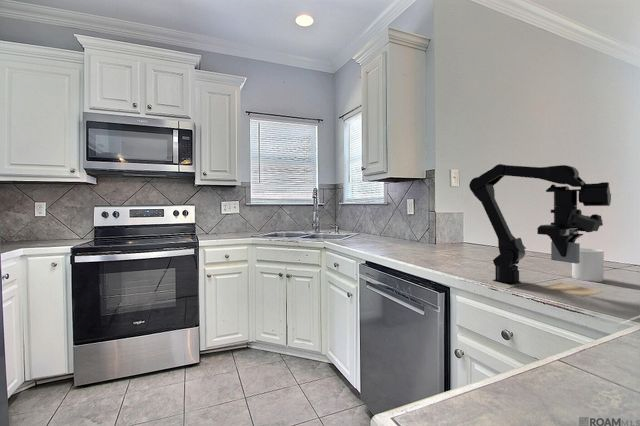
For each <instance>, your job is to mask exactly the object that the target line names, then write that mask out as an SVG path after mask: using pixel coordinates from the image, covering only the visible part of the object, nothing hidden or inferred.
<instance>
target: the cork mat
mask: <svg viewBox="0 0 640 426" xmlns="http://www.w3.org/2000/svg"><path fill="white" fill-rule="evenodd" d="M541 288H543V289H547V290H550V291H551V290H552V291H555V292H561V293H564V294H565V293H566V294H569V295H574V296H579V297H582V298H585V297H589V296H592V295H596V294H600V293H604V290H598V289H594V288H590V287H589V288H588V287H582V286H578V285H573V284H568V283H563V282H556V283H553V284H548V285H543V286H541Z"/></svg>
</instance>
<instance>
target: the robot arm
mask: <svg viewBox="0 0 640 426" xmlns="http://www.w3.org/2000/svg"><path fill="white" fill-rule="evenodd" d="M504 177H516V178H518V177H520V178H529V179H539V180H543V181H547V182H550V183H552V184H551V185H550V186H549V187H548V188H547V189H546V190H545V192H546V193H553V209H550V213H551V214H553V221H552V222H550V224H540V225H539V226H537V229H536V230H537V235H543V236H544V235H545V236H548V237H549V239H550V240H551V241H553V243H554V245H555V246H556V248H557V250H558V251H559V253H560V255H561V256H562V257H566V253H567V246H568V242H570V243H576V241H577V240H578V239H579V238H581V237H582V236H584V233H579V232H585V233H592V232H598V231H599V229H600V227H602V226H603V224H604V222H603V220H602V215H601V214H600V215H599V214H597V213H596V214H595V213H594V214H592V215H590V216H589V215H585V214H582V210H581V208H580V209H579V208H578V202H579V204H583V206H584V207H610V206H611V203H612V202H611V201H612V192H611V190H610V183H609V182H608V181H607V182H605V181H603V182H599V183H598V182H597V183H586V182H585V181H584V180H583V179H582V178H581V177H580V172H579V170H578V169H577V168H576V167H575V166H571V165H564V164H561V165H560V164H559V165H550V166H549V165H548V166H542V167H541V166H540V167H538V166H537V167H536V166H523V165H522V166H521V165H507V164H501V163H499V164H496V165H495V166H493V167H492V168H490V169H489V170H487V171H486V172H484V173H482V174H480V175H479V176H476V177H473V178H471V180H470V182H469V185H468V187H469V190H470V191H471V192H472V194H473V195H474V196H475V198H476V199H478V201H480V202H481V204H482V207H483V208H484V211H485V213H486V215H487V218H488V220H489V222H490V224H491V226H492V228H493V231H494V233H495V235H496V237H497V246H498V247H497V248H498V251H499V255H498V256H495V258H493V259H492V262H493V264H494V266H495V271H494V272H495V274H494V276H495V278H494V279H492V281H493V282H495V283H496V282H497V283H501V284H503V285H504V284H505V285H509V286H510V285H515V284H516V285H517V284H520V283H521V281H520V271H519V267H518V264H519V262H520V260H522V259H523V258H525V256H526V249H527V247H526V246H525V244H524V243H523V240H522V238H521V237H517V238H516V237H515V236H514V235H513V234H512V231H511V230H510V228H509V225H508V224H507V221H506V219H505V217H504V215H503V213H502V211H501V209H500V207H499V205H498V203H497V200H496V198H495V197H496V196H495V187H494V186H495V185H497V183H499V182H500V181H501V180H502V179H503V178H504ZM556 184H558V185H560V186H557V185H556ZM561 185H564V186H561ZM569 186H570V187H573V188H575V189H570V187H569ZM576 188H578V189H576ZM579 188H580V189H579Z"/></svg>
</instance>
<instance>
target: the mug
mask: <svg viewBox="0 0 640 426" xmlns="http://www.w3.org/2000/svg"><path fill="white" fill-rule="evenodd" d="M604 252H605V251H604V250H603V249H599V248H591V247H589V248H587V247H580V263H577V264H576V263H571V277H572V278H573V279H574V280H575V279H576V280H581V281H585V282H593V283H601V282H603V281H604V279H605V278H604V276H605V275H604V271H605V268H604V263H605V260H604V259H605V253H604Z"/></svg>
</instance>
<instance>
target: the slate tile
mask: <svg viewBox="0 0 640 426" xmlns="http://www.w3.org/2000/svg"><path fill="white" fill-rule="evenodd" d="M580 244H581V243H578V242H575V243H570V242H568V246H567V253H566V257H562V256H561V255H560V253H559V251H558V250H557V248H556V246H555V245H554V243H553V241H552V240H551V243H550V245H551V251H550V253H551V254H550V261H557V262H563V263H570V264H572V263H576V264H577V263H580V248H581V247H580Z"/></svg>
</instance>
